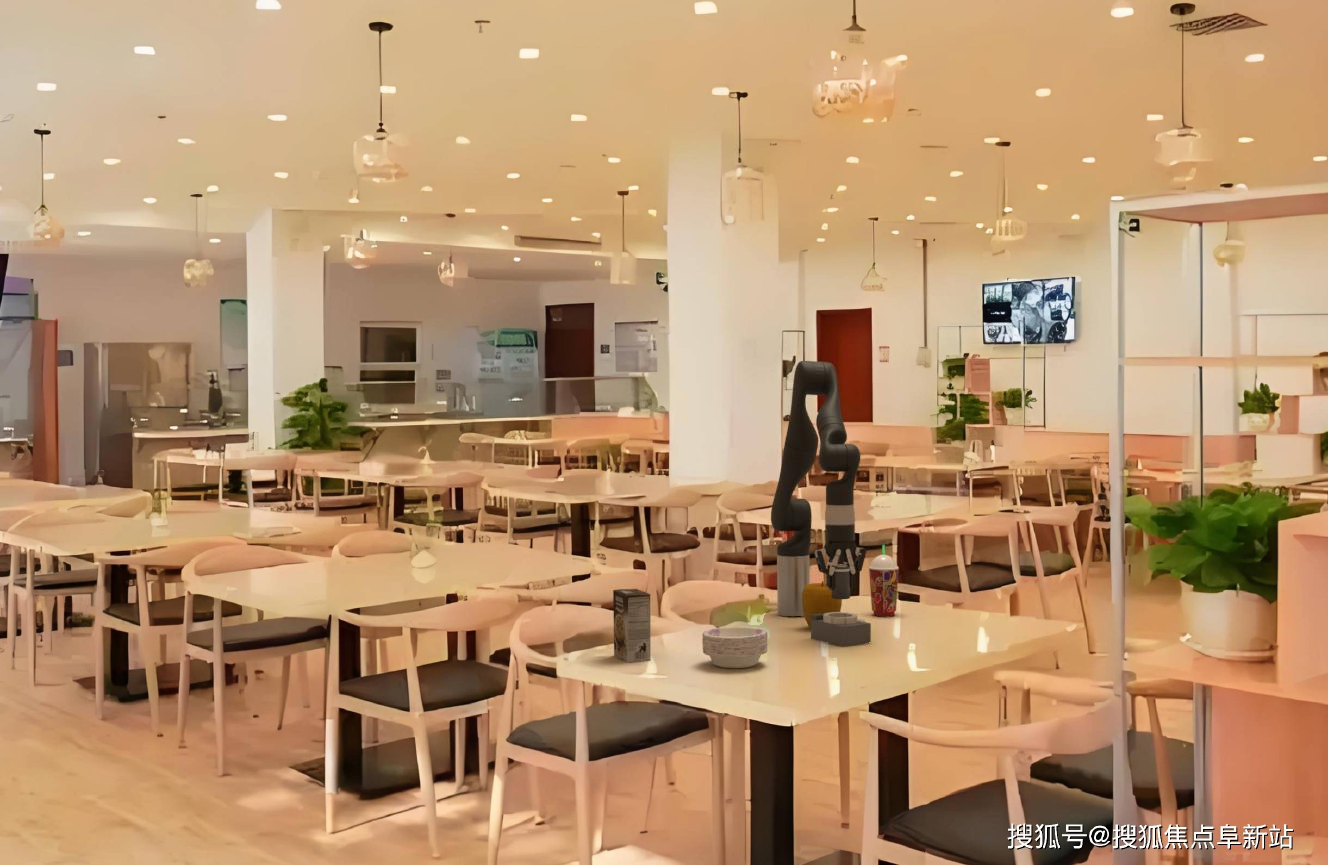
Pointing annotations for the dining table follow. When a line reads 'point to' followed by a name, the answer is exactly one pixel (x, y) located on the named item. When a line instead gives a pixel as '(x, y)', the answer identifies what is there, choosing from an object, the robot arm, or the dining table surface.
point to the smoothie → (883, 584)
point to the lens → (841, 582)
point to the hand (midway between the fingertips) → (840, 588)
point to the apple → (818, 601)
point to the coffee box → (631, 624)
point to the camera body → (840, 628)
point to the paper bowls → (735, 646)
